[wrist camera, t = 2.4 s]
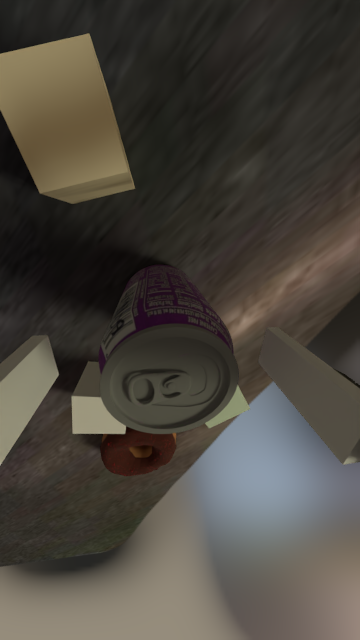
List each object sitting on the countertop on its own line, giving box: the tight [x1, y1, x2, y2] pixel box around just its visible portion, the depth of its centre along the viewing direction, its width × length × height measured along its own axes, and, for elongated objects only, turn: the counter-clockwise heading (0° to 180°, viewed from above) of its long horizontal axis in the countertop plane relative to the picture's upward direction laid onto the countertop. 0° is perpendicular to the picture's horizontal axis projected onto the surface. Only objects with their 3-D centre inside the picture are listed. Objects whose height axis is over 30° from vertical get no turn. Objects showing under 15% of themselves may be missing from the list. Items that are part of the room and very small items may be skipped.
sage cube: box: [206, 385, 250, 428], centre depth 22 cm, size 5×5×5 cm
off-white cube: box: [72, 361, 126, 434], centre depth 20 cm, size 5×5×5 cm
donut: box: [100, 426, 177, 476], centre depth 26 cm, size 10×10×4 cm
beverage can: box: [99, 265, 239, 434], centre depth 14 cm, size 7×7×12 cm
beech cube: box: [0, 34, 135, 204], centre depth 12 cm, size 5×5×5 cm
